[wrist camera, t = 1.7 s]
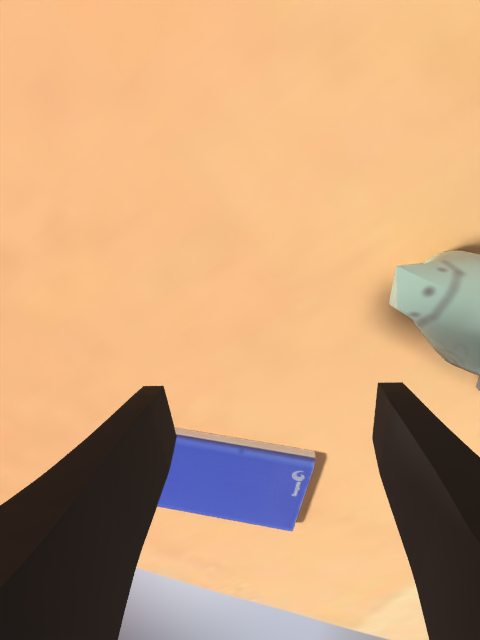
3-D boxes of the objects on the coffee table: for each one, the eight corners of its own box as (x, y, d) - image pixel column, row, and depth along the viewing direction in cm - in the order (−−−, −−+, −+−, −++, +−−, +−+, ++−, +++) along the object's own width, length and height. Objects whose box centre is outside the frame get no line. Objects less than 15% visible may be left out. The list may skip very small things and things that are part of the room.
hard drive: (316, 463, 23) (130, 431, 23) (292, 534, 27) (134, 505, 27) (314, 444, 24) (139, 415, 25) (292, 514, 28) (141, 487, 29)
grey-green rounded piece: (546, 249, 16) (699, 321, 10) (499, 325, 18) (604, 422, 12) (373, 216, 16) (425, 268, 10) (345, 296, 18) (376, 377, 12)
